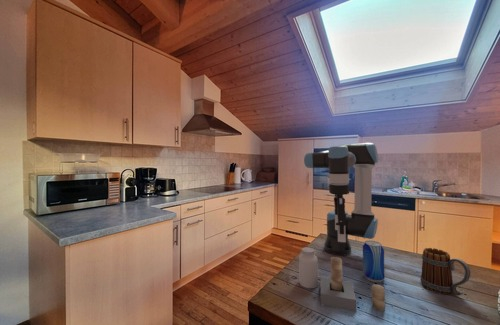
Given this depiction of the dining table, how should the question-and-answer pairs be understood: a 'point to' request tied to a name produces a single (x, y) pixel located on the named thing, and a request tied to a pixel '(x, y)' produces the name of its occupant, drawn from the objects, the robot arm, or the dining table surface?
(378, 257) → the beer can
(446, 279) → the mug
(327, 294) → the socket block
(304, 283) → the pill bottle
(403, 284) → the dining table surface
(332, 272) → the tall dowel
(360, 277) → the dining table surface
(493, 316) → the dining table surface
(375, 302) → the short dowel
